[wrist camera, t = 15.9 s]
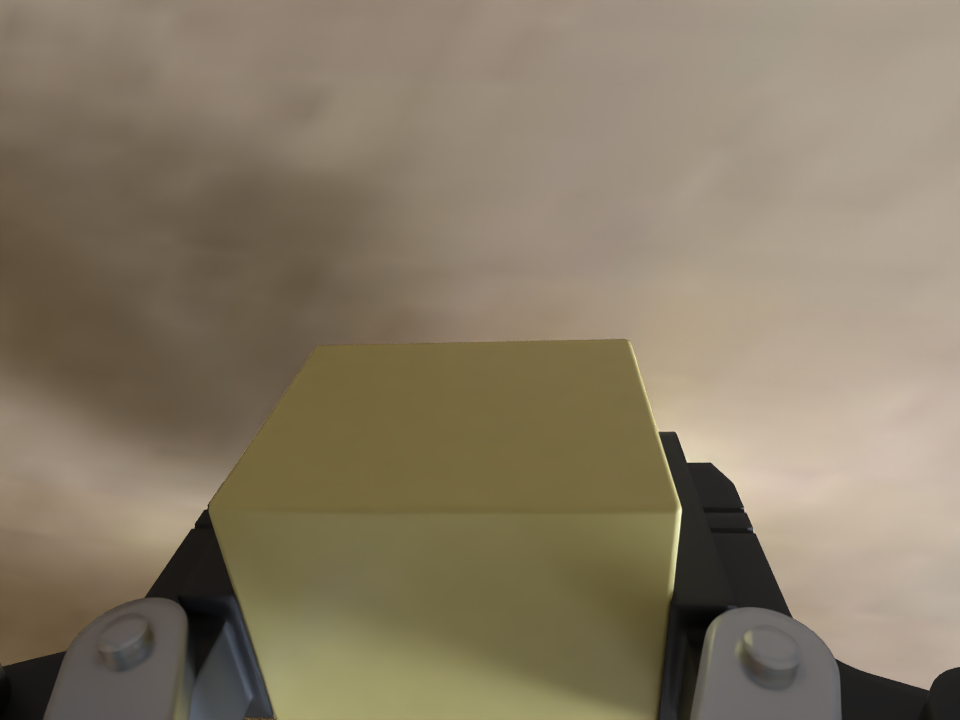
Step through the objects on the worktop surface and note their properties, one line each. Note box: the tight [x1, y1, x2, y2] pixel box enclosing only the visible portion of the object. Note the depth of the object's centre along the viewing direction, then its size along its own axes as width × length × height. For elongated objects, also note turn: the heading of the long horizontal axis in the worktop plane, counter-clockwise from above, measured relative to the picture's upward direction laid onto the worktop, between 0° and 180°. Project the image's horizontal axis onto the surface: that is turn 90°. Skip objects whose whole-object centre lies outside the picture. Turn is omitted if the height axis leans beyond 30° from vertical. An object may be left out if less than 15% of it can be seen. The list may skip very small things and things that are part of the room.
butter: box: [209, 339, 682, 720], centre depth 10 cm, size 5×5×4 cm
